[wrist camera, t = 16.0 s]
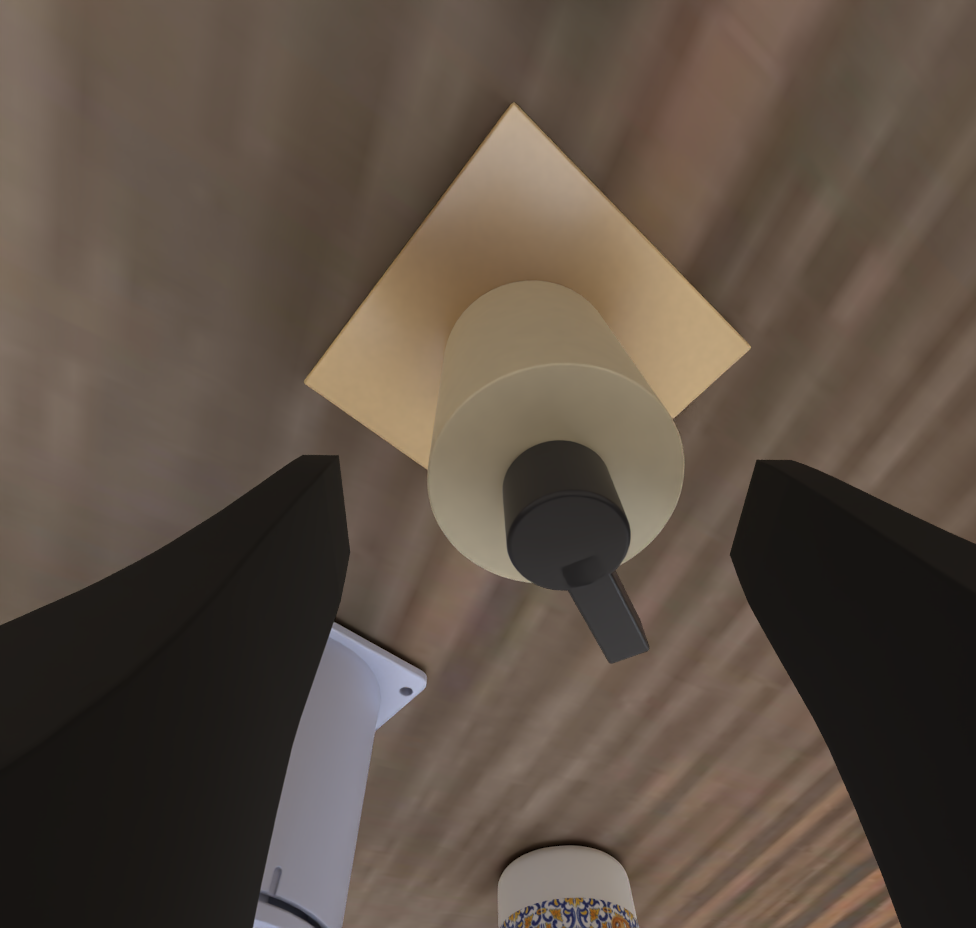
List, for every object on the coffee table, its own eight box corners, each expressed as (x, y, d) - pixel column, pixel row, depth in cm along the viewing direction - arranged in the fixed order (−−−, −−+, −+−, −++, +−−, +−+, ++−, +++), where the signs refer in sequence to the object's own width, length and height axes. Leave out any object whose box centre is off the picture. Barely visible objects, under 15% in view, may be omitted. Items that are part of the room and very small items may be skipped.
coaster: (532, 535, 20) (534, 546, 20) (307, 375, 17) (302, 383, 17) (744, 341, 17) (752, 347, 16) (512, 101, 14) (513, 100, 13)
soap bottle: (412, 330, 16) (359, 489, 9) (575, 247, 15) (667, 349, 8) (497, 479, 18) (511, 699, 11) (642, 415, 17) (760, 613, 10)
